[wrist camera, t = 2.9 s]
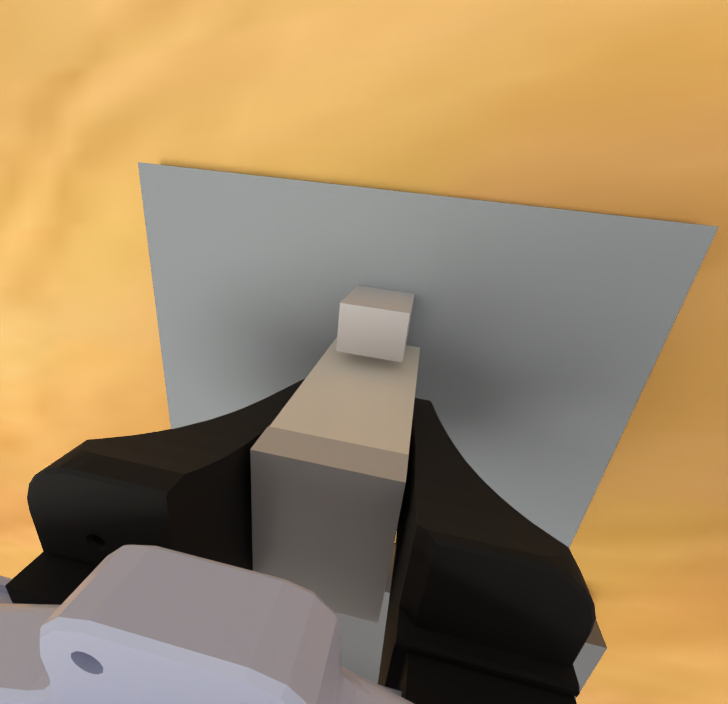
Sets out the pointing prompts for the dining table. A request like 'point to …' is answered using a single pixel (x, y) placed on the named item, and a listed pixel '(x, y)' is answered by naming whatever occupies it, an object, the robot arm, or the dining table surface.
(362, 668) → the parts tray
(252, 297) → the panel
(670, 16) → the dining table surface
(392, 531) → the block
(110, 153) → the dining table surface
